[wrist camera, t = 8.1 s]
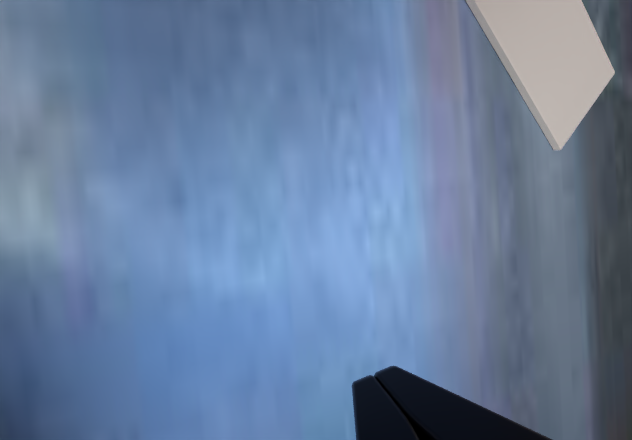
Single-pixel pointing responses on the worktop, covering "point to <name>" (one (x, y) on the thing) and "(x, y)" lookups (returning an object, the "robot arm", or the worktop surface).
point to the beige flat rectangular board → (548, 58)
